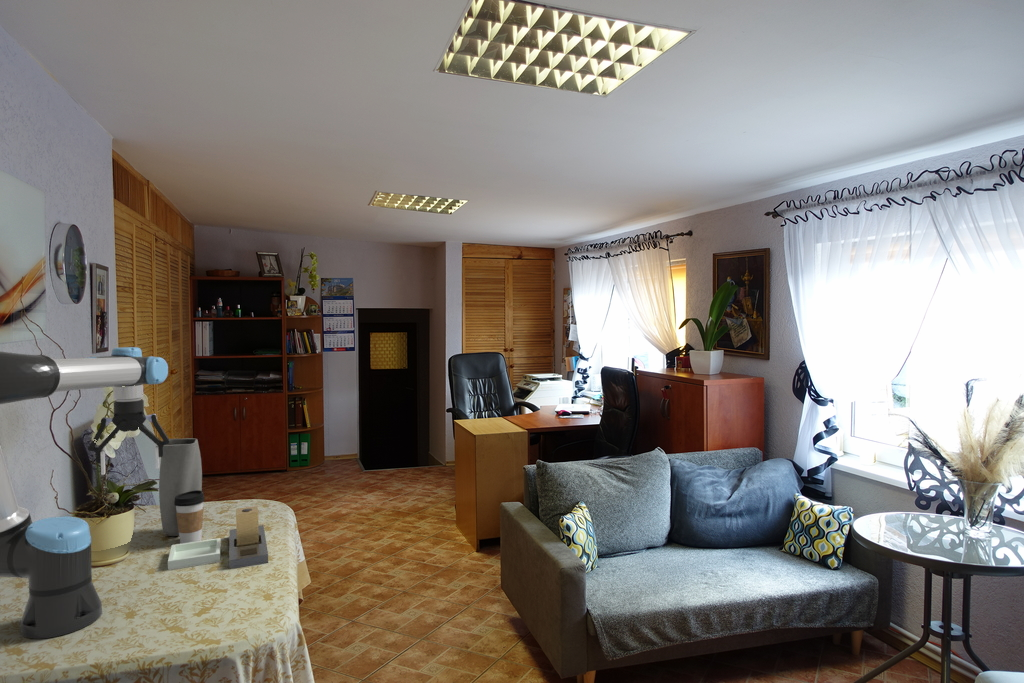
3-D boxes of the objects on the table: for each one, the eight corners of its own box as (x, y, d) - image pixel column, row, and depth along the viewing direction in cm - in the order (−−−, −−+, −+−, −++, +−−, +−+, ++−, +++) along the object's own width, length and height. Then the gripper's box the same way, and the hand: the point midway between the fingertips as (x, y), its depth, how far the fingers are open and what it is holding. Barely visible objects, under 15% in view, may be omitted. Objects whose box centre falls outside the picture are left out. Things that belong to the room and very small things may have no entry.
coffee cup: (210, 540, 189) (208, 493, 188) (181, 548, 183) (179, 499, 182) (199, 534, 195) (198, 488, 194) (171, 541, 188) (169, 494, 188)
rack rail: (268, 562, 172) (268, 553, 172) (229, 569, 168) (229, 559, 168) (263, 532, 196) (263, 524, 196) (229, 537, 192) (229, 529, 191)
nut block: (259, 551, 180) (258, 511, 180) (237, 554, 178) (236, 514, 177) (258, 544, 186) (257, 505, 185) (236, 547, 183) (235, 508, 183)
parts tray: (220, 561, 173) (219, 553, 173) (168, 570, 167) (167, 561, 167) (220, 545, 185) (220, 537, 184) (172, 553, 179) (171, 545, 179)
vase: (169, 527, 201) (166, 438, 199) (208, 525, 203) (206, 436, 201) (153, 541, 189) (149, 446, 187) (194, 538, 191) (191, 444, 189)
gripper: (177, 395, 187) (179, 463, 188) (79, 400, 175) (81, 473, 176) (176, 398, 180) (178, 468, 181) (74, 404, 169) (77, 479, 170)
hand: (131, 470), depth 179 cm, fingers open, 13 cm apart
